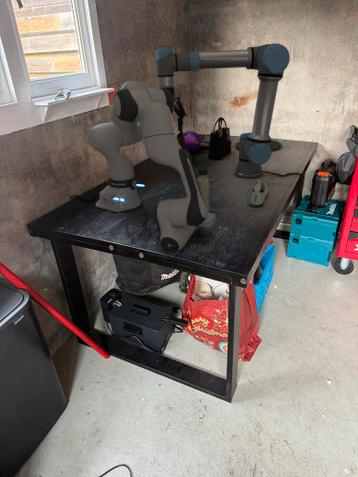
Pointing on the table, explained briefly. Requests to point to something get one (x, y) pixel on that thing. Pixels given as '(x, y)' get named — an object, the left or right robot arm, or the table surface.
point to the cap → (203, 171)
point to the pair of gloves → (206, 142)
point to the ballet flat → (258, 193)
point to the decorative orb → (192, 141)
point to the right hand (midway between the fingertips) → (169, 134)
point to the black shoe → (273, 145)
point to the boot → (183, 143)
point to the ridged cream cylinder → (204, 189)
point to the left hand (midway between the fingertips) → (195, 209)
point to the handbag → (219, 141)
